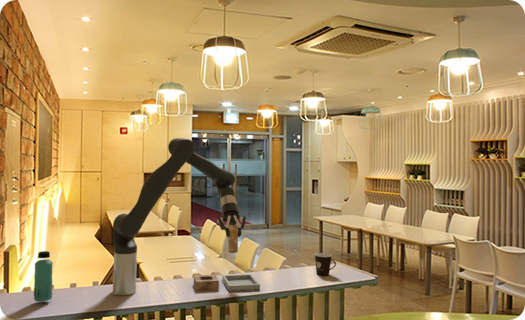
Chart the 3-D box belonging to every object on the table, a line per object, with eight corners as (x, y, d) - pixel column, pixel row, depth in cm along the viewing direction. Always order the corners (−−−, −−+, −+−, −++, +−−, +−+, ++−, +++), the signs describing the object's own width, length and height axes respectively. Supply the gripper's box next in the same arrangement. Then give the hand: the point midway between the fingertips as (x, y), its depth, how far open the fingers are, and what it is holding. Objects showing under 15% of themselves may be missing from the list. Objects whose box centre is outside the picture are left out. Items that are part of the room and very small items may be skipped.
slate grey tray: (229, 291, 188) (229, 285, 188) (222, 280, 204) (222, 275, 204) (259, 290, 191) (260, 284, 191) (250, 279, 208) (250, 274, 208)
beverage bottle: (55, 300, 170) (56, 250, 170) (47, 306, 163) (48, 253, 163) (38, 299, 170) (39, 249, 170) (29, 305, 163) (31, 253, 163)
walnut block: (196, 290, 187) (196, 281, 187) (193, 284, 197) (193, 275, 197) (218, 289, 190) (218, 280, 190) (215, 283, 200) (215, 274, 200)
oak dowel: (229, 253, 195) (229, 226, 194) (227, 251, 199) (227, 225, 199) (238, 252, 196) (239, 226, 195) (236, 250, 200) (237, 225, 200)
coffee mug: (311, 272, 224) (312, 253, 224) (326, 271, 226) (327, 252, 226) (321, 278, 213) (321, 258, 213) (336, 277, 215) (337, 257, 215)
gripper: (215, 202, 202) (219, 232, 191) (245, 201, 206) (250, 231, 195) (213, 211, 207) (217, 241, 196) (242, 211, 211) (248, 240, 200)
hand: (234, 236), depth 195 cm, fingers closed on oak dowel, 4 cm apart
